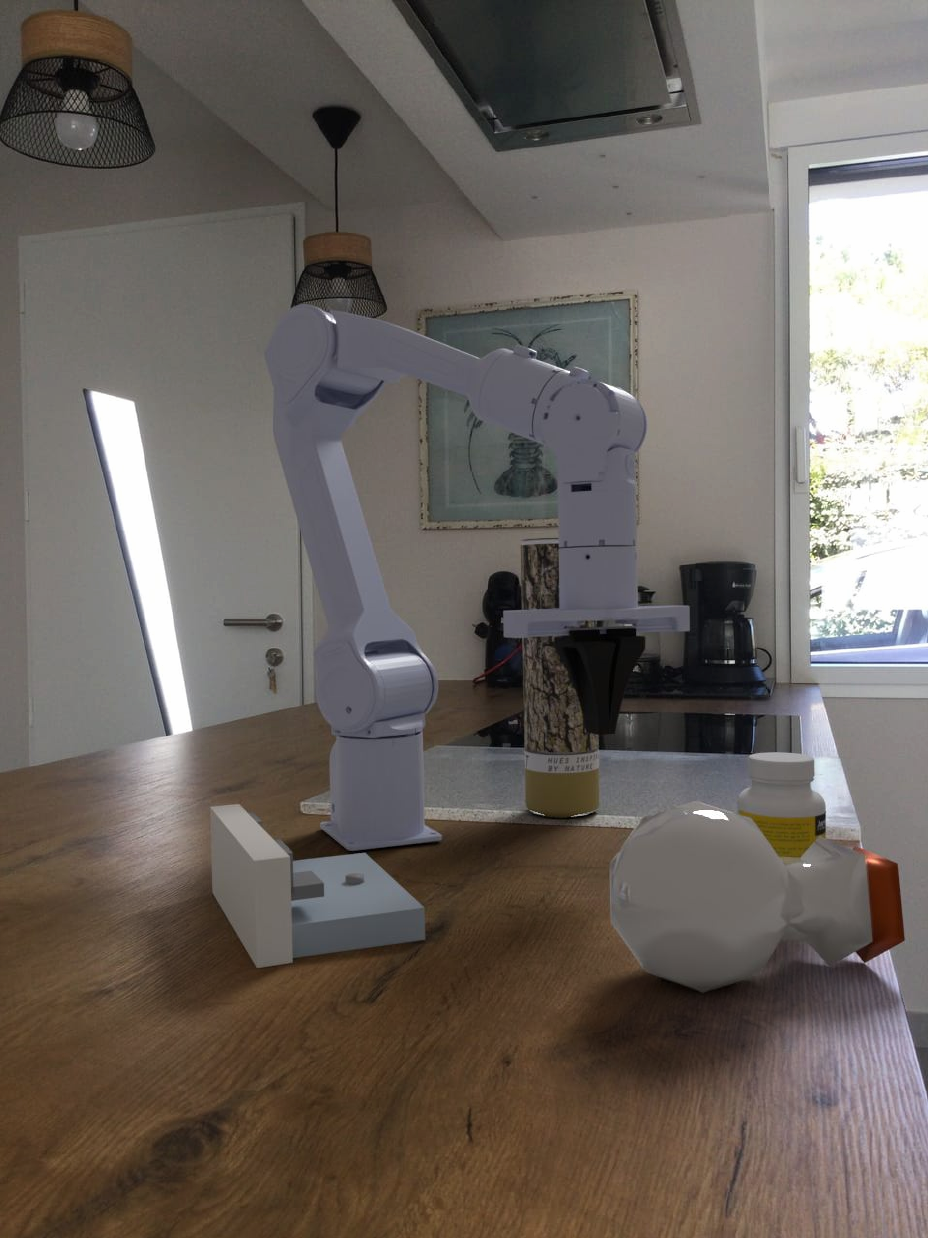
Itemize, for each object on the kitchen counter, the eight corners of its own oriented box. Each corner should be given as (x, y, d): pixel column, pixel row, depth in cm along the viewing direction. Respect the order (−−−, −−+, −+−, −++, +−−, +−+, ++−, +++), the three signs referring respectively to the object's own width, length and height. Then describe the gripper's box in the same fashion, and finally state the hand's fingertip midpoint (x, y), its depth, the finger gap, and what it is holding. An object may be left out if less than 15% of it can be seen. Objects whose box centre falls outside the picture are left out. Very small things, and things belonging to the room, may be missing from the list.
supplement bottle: (832, 926, 64) (831, 764, 63) (739, 922, 65) (738, 763, 65) (820, 899, 69) (819, 750, 69) (735, 896, 70) (733, 749, 70)
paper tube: (612, 808, 98) (607, 538, 97) (579, 823, 92) (574, 536, 92) (547, 801, 102) (542, 541, 101) (511, 815, 96) (506, 539, 95)
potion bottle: (590, 1009, 56) (845, 1012, 59) (661, 952, 48) (949, 959, 51) (571, 842, 61) (806, 854, 64) (632, 767, 53) (896, 784, 56)
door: (254, 899, 73) (252, 859, 73) (366, 885, 76) (364, 847, 76) (291, 967, 60) (290, 918, 60) (425, 947, 63) (424, 901, 63)
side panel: (212, 892, 73) (210, 806, 73) (275, 884, 75) (273, 800, 75) (257, 968, 58) (254, 860, 58) (334, 956, 60) (331, 851, 60)
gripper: (532, 546, 71) (535, 747, 71) (713, 545, 76) (715, 732, 77) (490, 550, 77) (493, 734, 78) (659, 549, 83) (662, 721, 83)
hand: (600, 733), depth 78 cm, fingers closed
